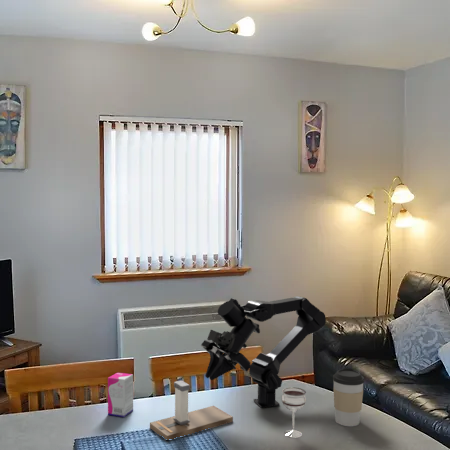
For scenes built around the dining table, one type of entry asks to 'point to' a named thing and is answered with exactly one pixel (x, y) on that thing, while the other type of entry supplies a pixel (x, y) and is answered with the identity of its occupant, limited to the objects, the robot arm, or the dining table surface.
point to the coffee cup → (348, 396)
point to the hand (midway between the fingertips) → (208, 378)
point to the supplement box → (120, 394)
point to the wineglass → (293, 406)
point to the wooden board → (191, 422)
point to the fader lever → (181, 402)
